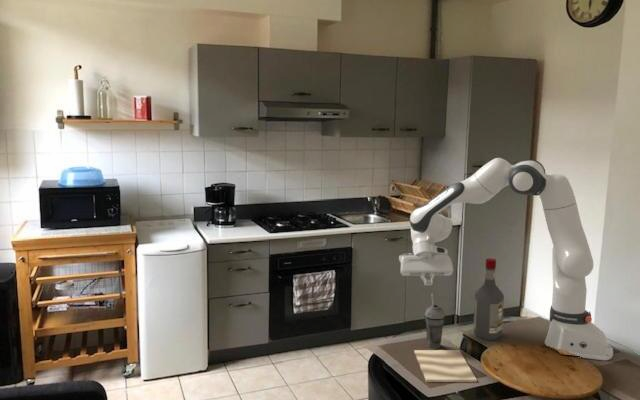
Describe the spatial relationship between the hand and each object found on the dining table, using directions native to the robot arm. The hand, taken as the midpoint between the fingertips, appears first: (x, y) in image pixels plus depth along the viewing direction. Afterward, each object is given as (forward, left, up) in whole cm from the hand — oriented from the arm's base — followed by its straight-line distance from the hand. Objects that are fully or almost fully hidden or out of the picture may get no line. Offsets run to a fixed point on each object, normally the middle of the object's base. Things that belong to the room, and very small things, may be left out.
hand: (428, 284), depth 210 cm
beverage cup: (-6, +11, -20) cm, 23 cm away
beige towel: (-14, +25, -19) cm, 34 cm away
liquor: (-21, -9, -20) cm, 30 cm away
